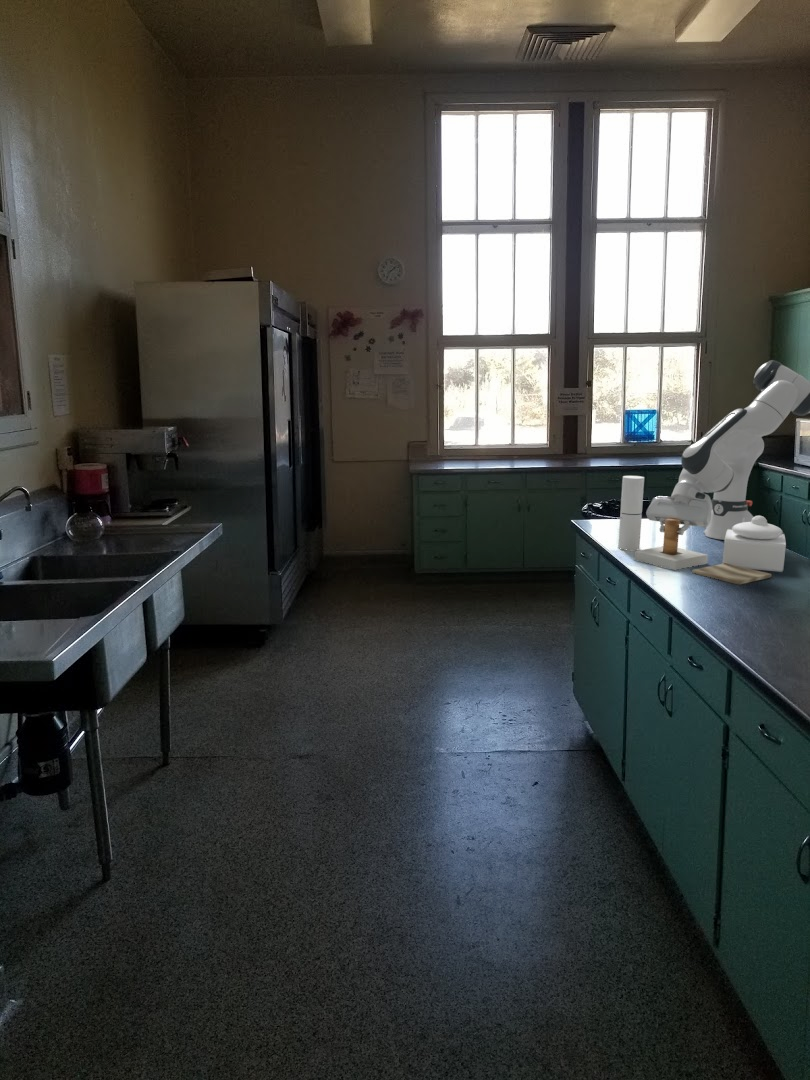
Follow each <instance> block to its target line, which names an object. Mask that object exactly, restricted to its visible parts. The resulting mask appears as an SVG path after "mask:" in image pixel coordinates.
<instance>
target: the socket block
mask: <svg viewBox="0 0 810 1080" xmlns="http://www.w3.org/2000/svg"><path fill="white" fill-rule="evenodd" d="M708 558H709V554H707V553H701V552H698V551H694V550H689V549H684V548H680V547H678V548H677V555H673V556H672V555H668V554H664V553H663V545H662V546H657V547H652V548H650V547H649V548H645V549H639V550H635V551H634V561H636V560H638V561H637V562H640V561H641V563H644V562H645V564H648V563H649V565H652V564H654V565H653V566H656V565H657V567H660V566H662V567H661V568H664V567H666V568H665V569H668V568H670V569H669V570H671V569H673V570H672V571H677V570H676V569H679V570H682V569H681V568H684V569H687V568H686V567H689V568H693V567H692V566H694V567H698V565H699V566H703V565H708V562H709V561H708Z"/></svg>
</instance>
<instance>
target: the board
mask: <svg viewBox="0 0 810 1080" xmlns="http://www.w3.org/2000/svg"><path fill="white" fill-rule="evenodd" d="M692 572H693V573H692V574H695V573H696V574H695V575H699V576H703V577H706V576H707V578H710V577H711V578H710V579H714V578H715V580H718V579H719V580H718V581H723V582H726V583H730V584H735V585H743V584H748V583H752V582H756V581H760V580H765V579H769V578H772V573H768V572H764V571H762V570H757V569H748V568H744V567H739V566H735V565H731V564H726V563H724V564H722V563H720V564H715V565H710V566H703V567H701V568H700V567H699V568H694V569H692Z"/></svg>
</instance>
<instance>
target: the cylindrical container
mask: <svg viewBox="0 0 810 1080" xmlns="http://www.w3.org/2000/svg"><path fill="white" fill-rule="evenodd" d="M621 482H622V483H621V498H620V512H619V513H620V516H619V530H618V545H617V548H618V549H619V548H621V549H620V550H622V549H627V550H626V551H629V550H635V551H638V550H637V549H639V550H640V545H641V544H640V543H641V533H642V532H641V531H642V529H641V528H642V516H643V513H642V512H643V503H644V499H643V498H644V486H645V476H640V475H623V476H622V481H621Z"/></svg>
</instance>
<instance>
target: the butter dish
mask: <svg viewBox="0 0 810 1080" xmlns="http://www.w3.org/2000/svg"><path fill="white" fill-rule="evenodd" d="M753 517H754V518H752V520H751V522H743V523H739V524H736V525H734V526H733V527H732V530H729V529H727V532H726V537H725V540H723V542H724V544H723V554H722V563H721V564H724V563H726V564H731V565H735V566H739V567H744V568H748V569H752V570H757V571H770V572H778V573H783V571H784V566H785V559H786V558H785V555H786V549H787V542H786V535H785V533H784V532H783V530H782V529H781V528H780V527H779V526H776V525H775V524H771V523H768V520H767V519H766V517H764V516H762V515H760V514H759V515H755V516H753Z"/></svg>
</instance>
